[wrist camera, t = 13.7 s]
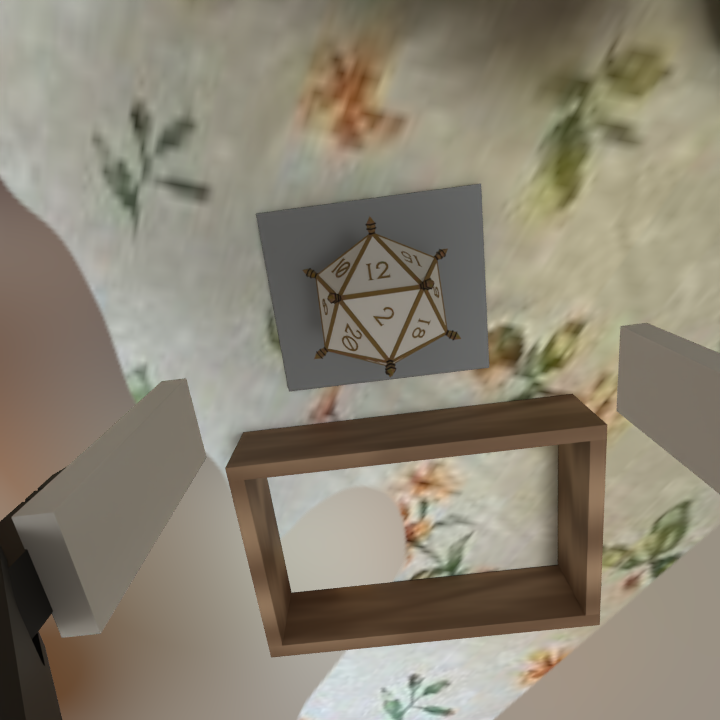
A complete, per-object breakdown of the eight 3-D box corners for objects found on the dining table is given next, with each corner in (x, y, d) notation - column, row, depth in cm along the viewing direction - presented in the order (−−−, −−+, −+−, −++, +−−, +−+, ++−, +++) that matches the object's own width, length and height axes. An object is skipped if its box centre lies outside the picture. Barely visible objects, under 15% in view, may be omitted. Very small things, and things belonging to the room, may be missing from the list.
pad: (257, 213, 30) (255, 213, 30) (478, 184, 30) (480, 183, 29) (290, 388, 34) (289, 391, 33) (486, 364, 33) (489, 367, 33)
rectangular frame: (243, 432, 35) (225, 468, 30) (572, 394, 34) (607, 424, 29) (281, 603, 40) (271, 657, 35) (570, 573, 39) (599, 624, 34)
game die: (390, 306, 35) (410, 427, 30) (282, 271, 31) (281, 402, 26) (468, 216, 29) (513, 347, 23) (346, 159, 25) (363, 300, 20)
